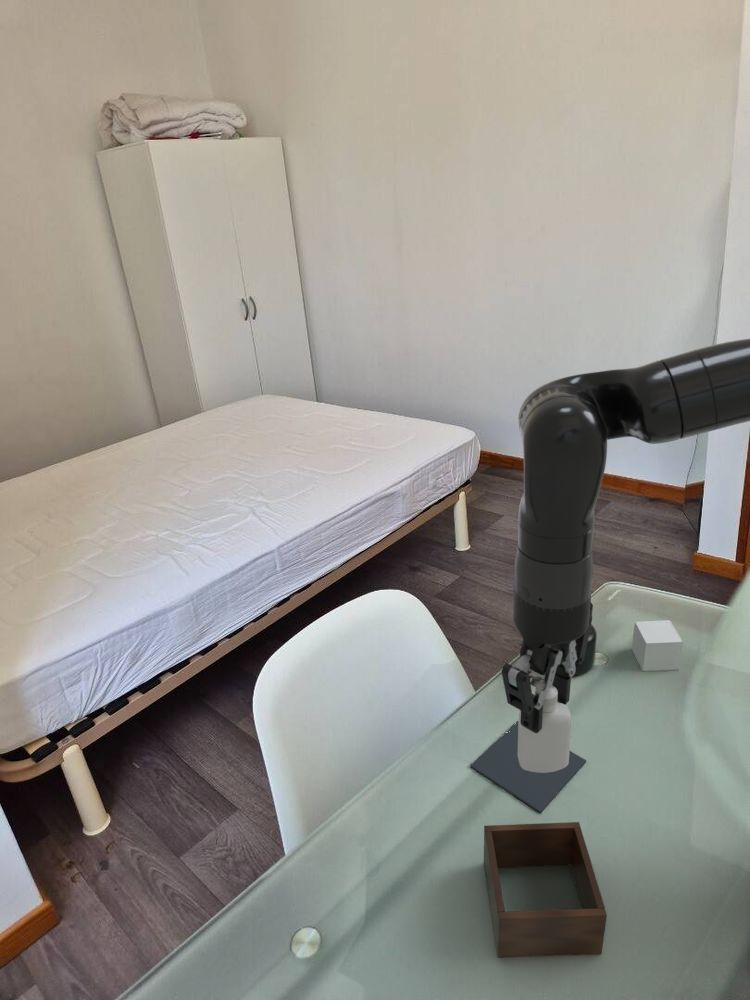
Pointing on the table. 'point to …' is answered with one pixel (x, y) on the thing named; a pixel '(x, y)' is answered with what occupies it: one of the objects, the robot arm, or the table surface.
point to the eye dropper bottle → (546, 738)
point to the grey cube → (656, 645)
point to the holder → (544, 927)
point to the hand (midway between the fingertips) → (545, 713)
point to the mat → (523, 772)
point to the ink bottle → (588, 651)
